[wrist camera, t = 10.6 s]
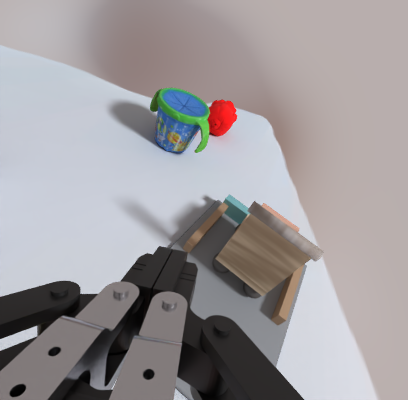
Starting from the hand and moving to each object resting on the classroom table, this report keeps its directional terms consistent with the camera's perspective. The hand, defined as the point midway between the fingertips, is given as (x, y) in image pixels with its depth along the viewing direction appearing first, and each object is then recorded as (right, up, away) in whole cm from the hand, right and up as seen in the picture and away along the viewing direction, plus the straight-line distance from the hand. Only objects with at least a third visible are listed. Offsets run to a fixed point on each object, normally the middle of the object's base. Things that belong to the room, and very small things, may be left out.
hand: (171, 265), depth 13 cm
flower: (+4, +22, +54) cm, 59 cm away
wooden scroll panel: (+8, -7, +28) cm, 30 cm away
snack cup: (-6, +16, +43) cm, 46 cm away
